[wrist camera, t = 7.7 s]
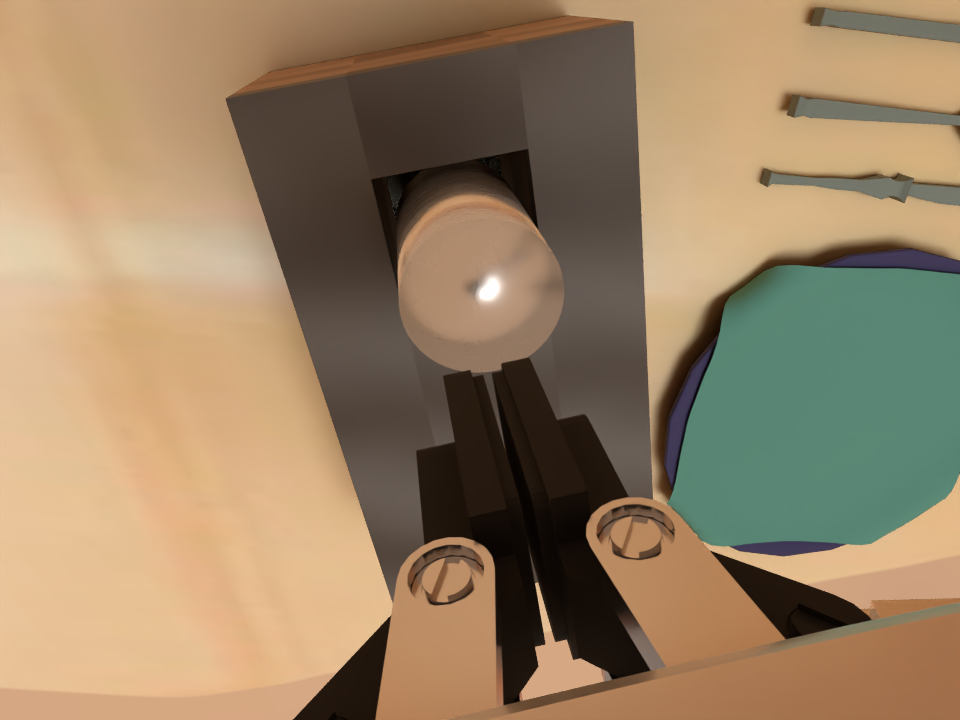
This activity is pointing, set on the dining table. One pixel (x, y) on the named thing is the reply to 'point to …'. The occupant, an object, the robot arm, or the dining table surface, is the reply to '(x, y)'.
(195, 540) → the dining table surface
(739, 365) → the cutlery set
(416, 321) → the steel peg
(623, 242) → the peg block
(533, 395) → the robot arm
